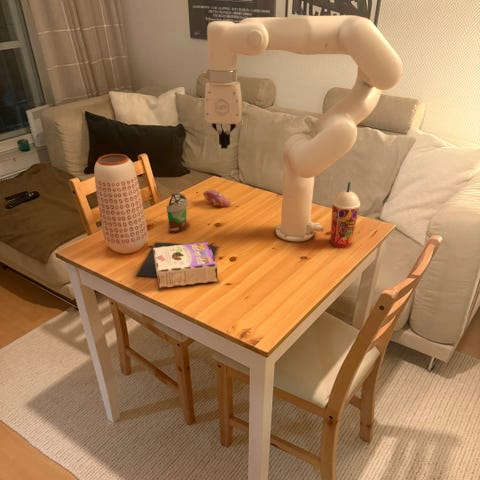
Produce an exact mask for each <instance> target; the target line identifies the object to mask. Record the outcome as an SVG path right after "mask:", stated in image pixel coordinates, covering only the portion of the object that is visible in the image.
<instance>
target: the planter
mask: <svg viewBox="0 0 480 480" xmlns="http://www.w3.org/2000/svg"><path fill="white" fill-rule="evenodd" d="M93 172H94V182H95V191H96V199H97V205H98V212H99V217H100V223H101V229H102V234H103V238H104V241H105V243H106V245H107V246H108V247H109V248H110V249H111V250H112V251H114V252H115V253H117V254H119V255H132V254H135V253H136V254H137V253H138V252H139V251H141V250H142V249H143V247H144V246H145V244H146V242H147V240H148V227H147V219H146V215H145V208H144V202H143V197H142V192H141V188H140V183H139V179H138V175H137V171H136V168H135V164H134V163H133V161H132V160H131V158H129V157H128V156H127V155H125V154H122V153H109V154H104V155H102V156H99V157H98V159H97V160H96V162H95V165H94V170H93Z"/></svg>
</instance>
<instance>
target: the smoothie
mask: <svg viewBox="0 0 480 480" xmlns="http://www.w3.org/2000/svg"><path fill="white" fill-rule="evenodd" d="M350 188H351V182H350V181H348V182H347V188H346V190H342V191H341V192H339V193H338V194H337V195H335V197H334V199H333V200H332V202H331V204H332V207H331V223H330V224H331V226H330V242H331V244H332V245H333V246H335V247H338V248H345V247H348V246H349V245H350V244H351V243H352V242H353V237H354V232H355V229H356V224H357V220H358V216H359V212H360V207H361V201H360V199H359V197H358V195H357V194H356V193H355V192H354V191H352V190H351V189H350Z"/></svg>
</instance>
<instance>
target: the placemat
mask: <svg viewBox="0 0 480 480" xmlns="http://www.w3.org/2000/svg"><path fill="white" fill-rule="evenodd" d="M182 244H183V243H170V242H169V243H167V242H155V243H154V245H153V247H152V248H151V250H150V252H149V254H148V255H147V257H146V259H145V261H144V262H143V264H142V265H141V267H140V269H139V270H138V272H137V274H136V277H141V278H142V277H143V278H154V279H155V278H156V279H158V277H157V273H156V267H155V260H154V251H153V248H156V247H165V246H173V245H182ZM209 246H210V248H211V251H212V253H213V256H214V257H215V254H216V251H217V250H218V246H216V245H209Z"/></svg>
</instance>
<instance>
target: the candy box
mask: <svg viewBox="0 0 480 480" xmlns="http://www.w3.org/2000/svg"><path fill="white" fill-rule="evenodd" d="M181 244H182V245H173V246H165V247H156V248H153V247H152V249H153V251H154V260H155V267H156V273H157V277H158V278H157V281H158V286H159V289H165V288H175V287H183V286H191V285H199V284H208V283H217V282H218V264H217V261H216V258H215V255H214V256H213V253H212V251H211V248H210V246H211V245H210V244H209V242H208V241H200V242H193V243H192V242H191V243H185V244H184V243H181Z"/></svg>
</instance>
